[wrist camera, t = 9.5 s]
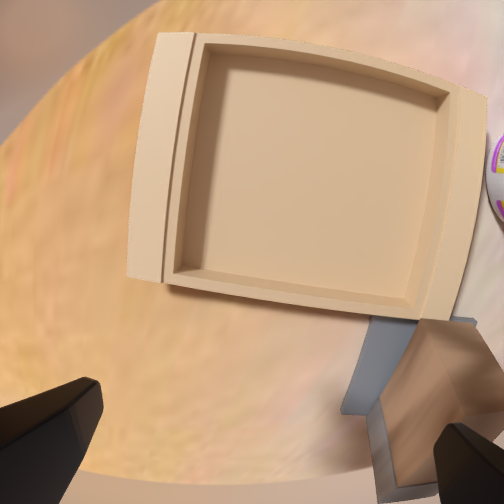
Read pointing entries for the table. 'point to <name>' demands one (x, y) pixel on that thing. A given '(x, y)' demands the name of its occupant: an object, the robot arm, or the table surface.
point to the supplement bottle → (496, 176)
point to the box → (432, 405)
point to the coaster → (380, 360)
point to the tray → (304, 176)
